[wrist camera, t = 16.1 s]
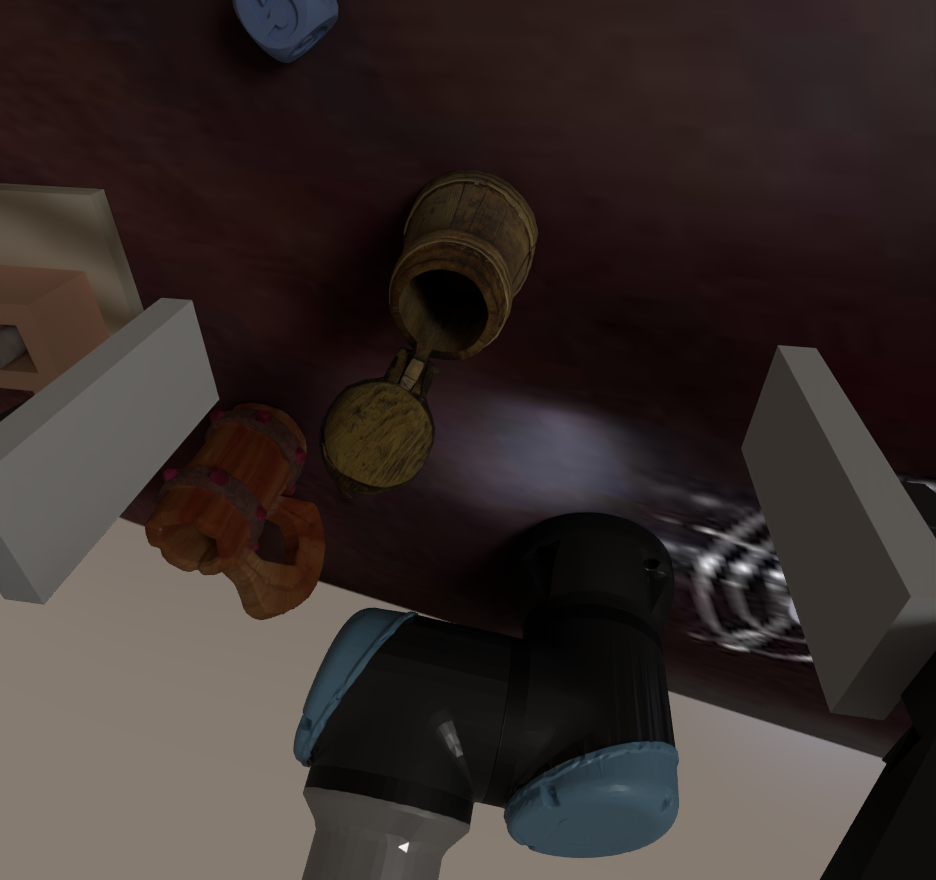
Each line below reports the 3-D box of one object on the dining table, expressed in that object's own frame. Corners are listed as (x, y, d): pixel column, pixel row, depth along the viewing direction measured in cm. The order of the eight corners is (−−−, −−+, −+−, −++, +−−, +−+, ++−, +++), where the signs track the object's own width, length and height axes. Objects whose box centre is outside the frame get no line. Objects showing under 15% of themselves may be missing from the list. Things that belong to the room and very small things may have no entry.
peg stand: (174, 403, 54) (74, 508, 43) (49, 391, 55) (-78, 490, 45) (103, 189, 43) (-53, 259, 33) (-51, 180, 45) (-249, 245, 34)
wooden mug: (361, 311, 46) (263, 462, 32) (443, 141, 38) (361, 240, 24) (465, 369, 48) (416, 536, 34) (564, 217, 40) (554, 352, 26)
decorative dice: (298, -61, 33) (268, -65, 30) (348, 12, 35) (324, 15, 32) (251, -7, 35) (218, -5, 32) (300, 60, 37) (274, 68, 34)
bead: (116, 354, 50) (67, 394, 45) (37, 347, 51) (-19, 386, 46) (85, 271, 46) (27, 305, 41) (-1, 264, 46) (-67, 298, 42)
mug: (201, 411, 54) (95, 534, 42) (260, 369, 51) (161, 490, 39) (317, 517, 60) (252, 651, 48) (377, 486, 57) (323, 622, 45)
